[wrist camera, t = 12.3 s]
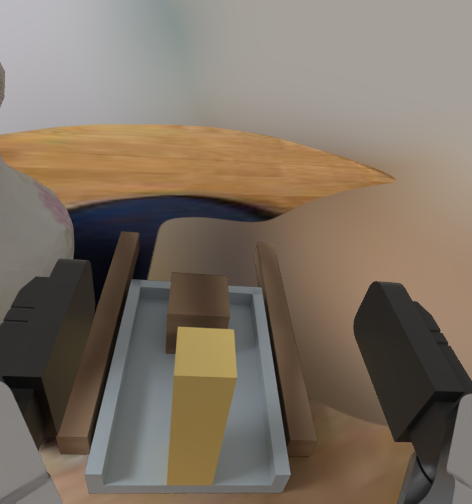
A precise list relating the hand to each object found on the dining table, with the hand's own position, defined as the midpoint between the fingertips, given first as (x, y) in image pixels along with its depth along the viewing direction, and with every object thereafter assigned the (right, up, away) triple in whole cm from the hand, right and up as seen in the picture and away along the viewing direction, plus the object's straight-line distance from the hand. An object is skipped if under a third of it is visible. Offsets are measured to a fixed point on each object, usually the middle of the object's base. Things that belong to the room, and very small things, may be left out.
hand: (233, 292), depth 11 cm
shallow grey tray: (-4, -10, +22) cm, 24 cm away
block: (-4, -6, +25) cm, 26 cm away
